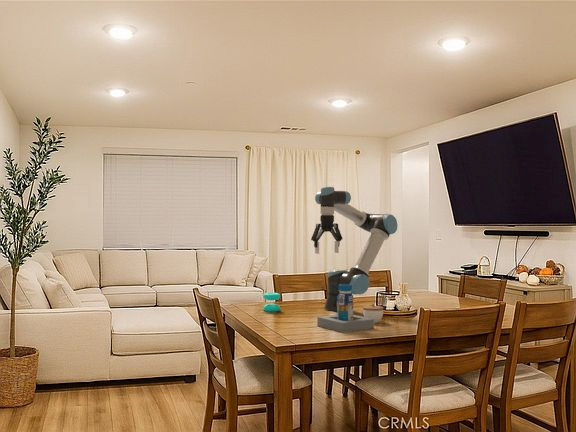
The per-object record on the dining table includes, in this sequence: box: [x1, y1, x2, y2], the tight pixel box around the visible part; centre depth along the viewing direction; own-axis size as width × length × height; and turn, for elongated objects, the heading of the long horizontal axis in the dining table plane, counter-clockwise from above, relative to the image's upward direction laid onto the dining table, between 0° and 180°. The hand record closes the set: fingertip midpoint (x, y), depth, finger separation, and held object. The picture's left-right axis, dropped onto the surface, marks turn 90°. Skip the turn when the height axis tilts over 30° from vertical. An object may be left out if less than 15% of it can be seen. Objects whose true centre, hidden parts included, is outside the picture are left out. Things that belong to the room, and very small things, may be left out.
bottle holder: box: [316, 314, 375, 333], centre depth 302 cm, size 20×20×4 cm
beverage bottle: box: [336, 284, 355, 321], centre depth 303 cm, size 8×8×20 cm
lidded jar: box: [362, 303, 384, 324], centre depth 317 cm, size 11×11×9 cm
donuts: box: [262, 292, 281, 313], centre depth 351 cm, size 10×10×10 cm
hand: (326, 253), depth 334 cm, fingers open, 13 cm apart
